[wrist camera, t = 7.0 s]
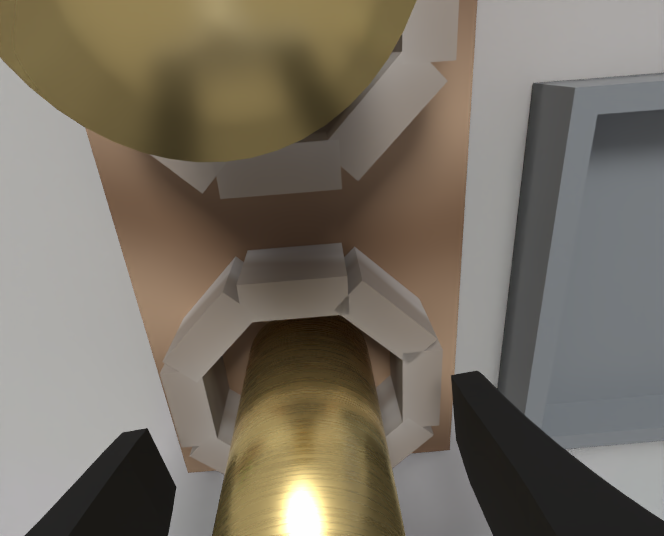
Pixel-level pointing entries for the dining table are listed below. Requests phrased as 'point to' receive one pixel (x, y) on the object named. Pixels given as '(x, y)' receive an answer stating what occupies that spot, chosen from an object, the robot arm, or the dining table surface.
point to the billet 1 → (200, 67)
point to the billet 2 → (309, 438)
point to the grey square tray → (590, 264)
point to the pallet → (313, 243)
